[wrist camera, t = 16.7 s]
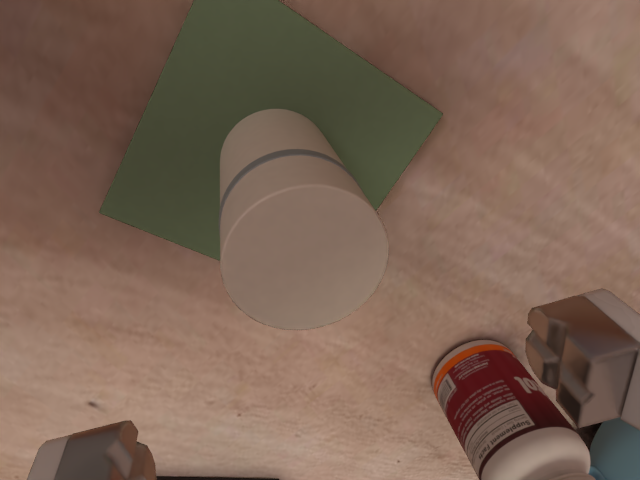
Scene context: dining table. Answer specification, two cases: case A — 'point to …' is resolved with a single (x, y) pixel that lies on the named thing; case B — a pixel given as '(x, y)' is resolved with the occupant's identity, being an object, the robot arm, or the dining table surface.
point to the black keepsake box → (196, 479)
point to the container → (294, 225)
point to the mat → (247, 98)
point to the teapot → (615, 452)
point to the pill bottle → (506, 417)
